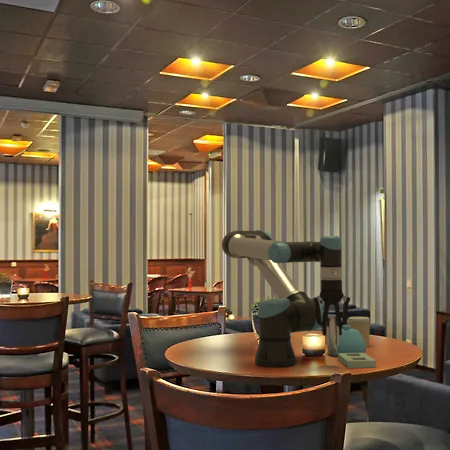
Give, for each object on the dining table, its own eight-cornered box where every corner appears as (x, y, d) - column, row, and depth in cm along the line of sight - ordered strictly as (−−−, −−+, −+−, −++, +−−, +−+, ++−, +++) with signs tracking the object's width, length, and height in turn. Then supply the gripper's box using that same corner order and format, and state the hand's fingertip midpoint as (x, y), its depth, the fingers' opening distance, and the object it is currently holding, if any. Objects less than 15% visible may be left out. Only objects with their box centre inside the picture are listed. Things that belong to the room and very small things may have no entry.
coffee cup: (375, 346, 254) (374, 317, 254) (360, 348, 249) (359, 319, 249) (359, 343, 262) (358, 316, 262) (343, 345, 256) (343, 317, 257)
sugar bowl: (337, 350, 246) (336, 322, 247) (372, 353, 238) (371, 324, 238) (321, 356, 234) (320, 326, 235) (357, 359, 225) (356, 328, 226)
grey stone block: (328, 354, 213) (328, 317, 213) (326, 352, 216) (326, 316, 216) (337, 354, 213) (337, 317, 213) (335, 352, 216) (335, 316, 216)
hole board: (348, 368, 209) (347, 361, 209) (337, 359, 225) (337, 353, 225) (376, 367, 210) (376, 360, 210) (364, 359, 226) (363, 352, 226)
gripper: (310, 280, 211) (311, 346, 210) (356, 279, 211) (357, 346, 211) (307, 278, 218) (308, 343, 218) (350, 278, 219) (351, 342, 218)
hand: (332, 344), depth 214 cm, fingers closed on grey stone block, 3 cm apart
